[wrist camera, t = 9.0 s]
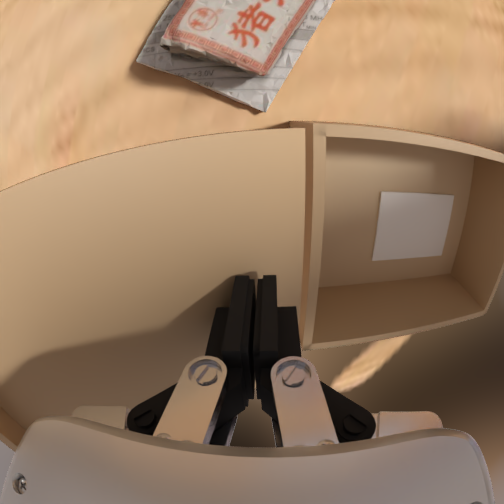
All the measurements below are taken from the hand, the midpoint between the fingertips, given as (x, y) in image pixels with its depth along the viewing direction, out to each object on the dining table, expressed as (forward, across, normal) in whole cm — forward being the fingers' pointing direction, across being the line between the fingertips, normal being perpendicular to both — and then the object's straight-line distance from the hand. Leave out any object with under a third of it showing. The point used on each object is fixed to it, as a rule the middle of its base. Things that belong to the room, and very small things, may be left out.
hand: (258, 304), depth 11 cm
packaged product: (+11, -1, -18) cm, 21 cm away
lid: (-4, +3, 0) cm, 5 cm away
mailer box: (+11, -11, 0) cm, 16 cm away
